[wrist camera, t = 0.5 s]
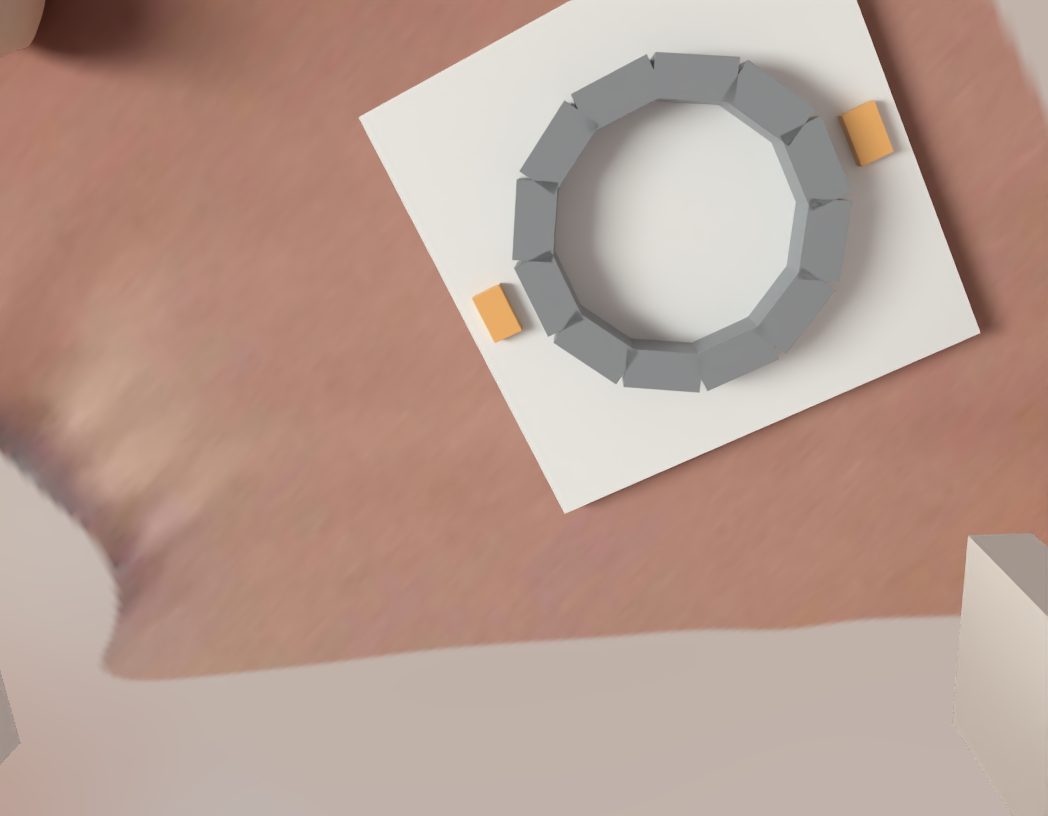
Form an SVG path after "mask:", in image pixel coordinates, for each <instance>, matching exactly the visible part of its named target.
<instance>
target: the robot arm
mask: <svg viewBox="0 0 1048 816" xmlns="http://www.w3.org/2000/svg"><path fill="white" fill-rule="evenodd" d="M952 723H953V725H954V726H955V728H956V729H957V731H958V732H959V734H960V736H961V737H962V739H963V740H964V742H965V744H966V745H967V747H968V748H969V750H970V751H971V753H972V754H973V756H974V757H975V759H976V761H977V762H978V764H979V765H980V767H981V769H982V770H983V772H984V773H985V775H986V776H987V778H988V780H989V781H990V782H991V784H992V786H993V787H994V789H995V790H996V792H997V794H998V795H999V797H1000V798H1001V800H1002V801H1003V803H1004V804H1005V806H1006V808H1007V809H1008V811H1009V812H1010V814H1011V815H1012V816H1048V547H1047V546H1046V545H1045V544H1044V543H1043V542H1041V541H1040V540H1039V539H1038V538H1037V537H1036V536H1035V535H1033V534H1032V533H1020V534H993V535H968V544H967V556H966V567H965V579H964V590H963V601H962V613H961V624H960V636H959V648H958V659H957V670H956V683H955V693H954V705H953V717H952ZM19 744H20V740H19V737H18V733H17V729H16V725H15V722H14V719H13V715H12V711H11V708H10V704H9V701H8V697H7V693H6V690H5V686H4V683H3V679H2V675H1V672H0V764H1V763H2V762H3V761H4V760H5V759H6V758H7V757H8V756H9V755H10V753H11V752H12V751H13V750H14V749H15V748H16V747H17V746H18V745H19Z"/></svg>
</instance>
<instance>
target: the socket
mask: <svg viewBox="0 0 1048 816" xmlns="http://www.w3.org/2000/svg"><path fill="white" fill-rule="evenodd" d="M359 119H360V121H361V123H362V125H363V127H364V129H365V131H366V133H367V134H368V136H369V138H370V140H371V142H372V144H373V146H374V148H375V150H376V152H377V154H378V156H379V158H380V159H381V161H382V163H383V165H384V167H385V169H386V171H387V173H388V175H389V177H390V179H391V181H392V183H393V184H394V186H395V188H396V190H397V192H398V194H399V196H400V198H401V200H402V202H403V204H404V206H405V208H406V209H407V211H408V213H409V215H410V217H411V219H412V221H413V223H414V225H415V227H416V229H417V231H418V233H419V234H420V236H421V238H422V240H423V242H424V244H425V246H426V248H427V250H428V252H429V254H430V256H431V258H432V259H433V261H434V263H435V265H436V267H437V269H438V271H439V273H440V275H441V277H442V279H443V281H444V283H445V284H446V286H447V288H448V290H449V292H450V294H451V296H452V298H453V300H454V302H455V304H456V306H457V308H458V309H459V311H460V313H461V315H462V317H463V319H464V321H465V323H466V325H467V327H468V329H469V331H470V333H471V334H472V336H473V338H474V340H475V342H476V344H477V346H478V348H479V350H480V352H481V354H482V356H483V357H484V359H485V361H486V363H487V365H488V367H489V369H490V371H491V373H492V375H493V377H494V379H495V381H496V382H497V384H498V386H499V388H500V390H501V392H502V394H503V396H504V398H505V400H506V402H507V404H508V406H509V407H510V409H511V411H512V413H513V415H514V417H515V419H516V421H517V423H518V425H519V427H520V429H521V431H522V432H523V434H524V436H525V438H526V440H527V442H528V444H529V446H530V448H531V450H532V452H533V454H534V456H535V457H536V459H537V461H538V463H539V465H540V467H541V469H542V471H543V473H544V475H545V477H546V479H547V481H548V482H549V484H550V486H551V488H552V490H553V492H554V494H555V496H556V498H557V500H558V502H559V504H560V506H561V507H562V509H563V511H564V513H567V512H570V511H572V510H574V509H577V508H579V507H581V506H584V505H586V504H588V503H590V502H593V501H595V500H597V499H600V498H602V497H604V496H607V495H609V494H611V493H613V492H616V491H618V490H620V489H623V488H625V487H627V486H630V485H632V484H634V483H636V482H639V481H641V480H643V479H646V478H648V477H650V476H653V475H655V474H657V473H660V472H662V471H664V470H666V469H669V468H671V467H673V466H676V465H678V464H680V463H683V462H685V461H687V460H689V459H692V458H694V457H696V456H699V455H701V454H703V453H706V452H708V451H710V450H712V449H715V448H717V447H719V446H722V445H724V444H726V443H729V442H731V441H733V440H735V439H738V438H740V437H742V436H745V435H747V434H749V433H752V432H754V431H756V430H758V429H761V428H763V427H765V426H768V425H770V424H772V423H775V422H777V421H779V420H781V419H784V418H786V417H788V416H791V415H793V414H795V413H798V412H800V411H802V410H805V409H807V408H809V407H811V406H814V405H816V404H818V403H821V402H823V401H825V400H828V399H830V398H832V397H834V396H837V395H839V394H841V393H844V392H846V391H848V390H851V389H853V388H855V387H857V386H860V385H862V384H864V383H867V382H869V381H871V380H874V379H876V378H878V377H880V376H883V375H885V374H887V373H890V372H892V371H894V370H897V369H899V368H901V367H903V366H906V365H908V364H910V363H913V362H915V361H917V360H920V359H922V358H924V357H926V356H929V355H931V354H933V353H936V352H938V351H940V350H943V349H945V348H947V347H950V346H952V345H954V344H956V343H959V342H961V341H963V340H966V339H968V338H970V337H973V336H975V335H977V334H979V333H980V330H979V327H978V325H977V322H976V319H975V317H974V314H973V311H972V309H971V306H970V303H969V301H968V298H967V295H966V293H965V290H964V287H963V284H962V282H961V279H960V276H959V274H958V271H957V268H956V266H955V263H954V260H953V258H952V255H951V252H950V250H949V247H948V244H947V241H946V239H945V236H944V233H943V231H942V228H941V225H940V223H939V220H938V217H937V215H936V212H935V209H934V207H933V204H932V201H931V199H930V196H929V193H928V190H927V188H926V185H925V182H924V180H923V177H922V174H921V172H920V169H919V166H918V164H917V161H916V158H915V156H914V153H913V150H912V148H911V145H910V142H909V139H908V137H907V134H906V131H905V129H904V126H903V123H902V121H901V118H900V115H899V113H898V110H897V107H896V105H895V102H894V99H893V97H892V94H891V91H890V88H889V86H888V83H887V80H886V78H885V75H884V72H883V70H882V67H881V64H880V62H879V59H878V56H877V54H876V51H875V48H874V46H873V43H872V40H871V37H870V35H869V32H868V29H867V27H866V24H865V21H864V19H863V16H862V13H861V11H860V8H859V5H858V3H857V0H571V1H569V2H567V3H565V4H563V5H561V6H560V7H558V8H556V9H554V10H552V11H551V12H549V13H547V14H545V15H543V16H541V17H540V18H538V19H536V20H534V21H532V22H531V23H529V24H527V25H525V26H523V27H522V28H520V29H518V30H516V31H514V32H512V33H511V34H509V35H507V36H505V37H503V38H502V39H500V40H498V41H496V42H494V43H492V44H491V45H489V46H487V47H485V48H483V49H482V50H480V51H478V52H476V53H474V54H473V55H471V56H469V57H467V58H465V59H463V60H462V61H460V62H458V63H456V64H454V65H453V66H451V67H449V68H447V69H445V70H443V71H442V72H440V73H438V74H436V75H434V76H433V77H431V78H429V79H427V80H425V81H424V82H422V83H420V84H418V85H416V86H414V87H413V88H411V89H409V90H407V91H405V92H404V93H402V94H400V95H398V96H396V97H394V98H393V99H391V100H389V101H387V102H385V103H384V104H382V105H380V106H378V107H376V108H375V109H373V110H371V111H369V112H367V113H365V114H364V115H362V116H360V117H359Z"/></svg>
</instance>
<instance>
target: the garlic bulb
mask: <svg viewBox="0 0 1048 816" xmlns="http://www.w3.org/2000/svg"><path fill="white" fill-rule="evenodd" d="M44 6H45V0H0V57H3V56H5V55H8V54H10V53H12V52H14V51H17V50H20V49H24V48H26V47H28V46H29V45H30V44H31V42H32V41H33V39H34V37H35V35H36V32H37V29H38V26H39V23H40V20H41V17H42V14H43V10H44Z"/></svg>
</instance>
